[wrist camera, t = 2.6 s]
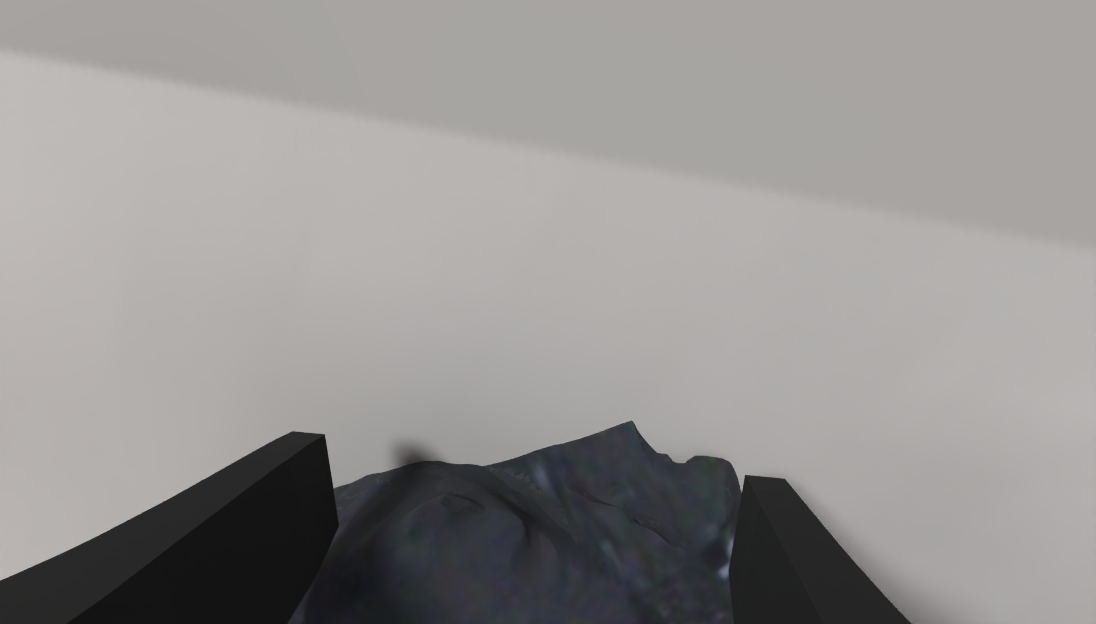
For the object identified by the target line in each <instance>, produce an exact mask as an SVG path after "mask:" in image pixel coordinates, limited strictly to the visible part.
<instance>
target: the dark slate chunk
mask: <svg viewBox="0 0 1096 624" xmlns="http://www.w3.org/2000/svg"><path fill="white" fill-rule="evenodd" d="M333 490H334V496H335V502H336V509H337V515H338V521H339V527H338V529H337V532H336V534H335V536H334V538H333V541H332V543H331V545H330V547H329V550H328V552H327V554H326V556H325V558H324V560H323V563H322V565H321V567H320V569H319V571H318V573H317V575H316V577H315V579H314V581H313V583H312V584H311V586H310V588H309V589H308V591H307V593H306V594H305V596H304V598H303V599H302V601H301V602H300V604H299V606H298V607H297V609H296V611H295V612H294V614H293V615H292V617H291V619H290V620H289V622H288V624H734V620H733V611H732V602H731V592H730V582H729V572H728V570H729V564H730V559H731V553H732V547H733V542H734V536H735V530H736V525H737V519H738V513H739V508H740V502H741V496H742V493H741V490H740V485H739V481H738V478H737V475H736V473H735V470H734V468H733V466H732V465H731V463H730V462H728V461H726V460H724V459H721V458H716V457H709V456H694V457H693V458H691V459H689V460H688V461H687V462H686V463H675V462H672V461H671V459H670V458H669V456H668V455H667V454H661V453H657V452H656V451H655V450H654V449H653V448H652V447H651V446H650V445H649V444H648V443H647V442H646V441H645V440H644V438H643V437H642V436H641V434H640V433H639V432H638V430H637V428H636V426H635V424H634V423H633V421H629V422H626V423H623V424H620V425H617V426H615V427H612V428H609V429H607V430H604V431H601V432H599V433H596V434H593V435H590V436H587V437H584V438H581V439H578V440H574V441H571V442H567V443H564V444H559V445H553V446H549V447H546V448H543V449H540V450H536V451H533V452H531V453H528V454H526V455H523V456H520V457H517V458H514V459H511V460H507V461H503V462H500V463H496V464H492V465H487V466H479V465H472V464H450V463H445V462H441V461H423V462H418V463H414V464H410V465H406V466H403V467H400V468H397V469H393V470H390V471H386V472H382V473H376V474H371V475H367V476H365V477H363V478H361V479H359V480H357V481H355V482H353V483H350V484H347V485H343V486H340V487H337V488H334V489H333Z"/></svg>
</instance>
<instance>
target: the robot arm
mask: <svg viewBox="0 0 1096 624" xmlns="http://www.w3.org/2000/svg"><path fill="white" fill-rule="evenodd" d="M338 527H339V521H338V515H337V509H336V502H335V496H334V490H333V483H332V477H331V471H330V464H329V458H328V452H327V445H326V439H325V434H314V433H304V432H293V431H292V432H290V433H288V434H286V435H284V436H282V437H280V438H278V439H276V440H274V441H272V442H270V443H268V444H266V445H265V446H263V447H261V448H259V449H257V450H256V451H254V452H252V453H250V454H248V455H247V456H245V457H243V458H241V459H239V460H238V461H236V462H234V463H232V464H231V465H229V466H227V467H225V468H224V469H222V470H220V471H218V472H216V473H215V474H213V475H211V476H209V477H208V478H206V479H204V480H202V481H200V482H199V483H197V484H195V485H193V486H191V487H190V488H188V489H186V490H184V491H183V492H181V493H179V494H177V495H175V496H174V497H172V498H170V499H168V500H166V501H164V502H162V503H160V504H159V505H157V506H155V507H153V508H151V509H149V510H147V511H145V512H143V513H141V514H139V515H137V516H136V517H134V518H132V519H130V520H128V521H126V522H124V523H122V524H120V525H118V526H116V527H114V528H113V529H111V530H109V531H107V532H105V533H103V534H101V535H99V536H97V537H95V538H93V539H91V540H89V541H87V542H85V543H83V544H81V545H79V546H77V547H74V548H72V549H70V550H68V551H66V552H64V553H62V554H60V555H57V556H55V557H53V558H51V559H49V560H46V561H44V562H42V563H40V564H37V565H35V566H33V567H31V568H28V569H26V570H24V571H22V572H19V573H17V574H15V575H13V576H10V577H8V578H6V579H3V580H1V581H0V624H288V622H289V620H290V619H291V617H292V615H293V614H294V612H295V611H296V609H297V607H298V606H299V604H300V602H301V601H302V599H303V598H304V596H305V594H306V593H307V591H308V589H309V588H310V586H311V584H312V583H313V581H314V579H315V577H316V575H317V573H318V571H319V569H320V567H321V565H322V563H323V560H324V558H325V556H326V554H327V552H328V550H329V547H330V545H331V543H332V541H333V538H334V536H335V534H336V532H337V529H338ZM728 572H729V582H730V592H731V602H732V611H733V620H734V624H911V623H910V622H909V621H908V620H907V619H906V618H905V617H904V616H903V615H902V614H901V613H900V612H899V611H898V610H897V608H896V607H895V606H894V605H893V604H892V603H891V602H890V601H889V600H888V599H887V598H886V597H885V596H884V595H883V594H882V592H881V591H880V590H879V589H878V588H877V587H876V586H875V585H874V583H873V582H872V581H871V580H870V579H869V578H868V577H867V576H866V574H865V573H864V572H863V571H862V570H861V569H860V568H859V567H858V565H857V564H856V563H855V562H854V561H853V560H852V559H851V558H850V556H849V555H848V554H847V553H846V552H845V551H844V549H843V548H842V547H841V546H840V545H839V544H838V542H837V541H836V540H835V539H834V538H833V536H832V535H831V534H830V533H829V532H828V530H827V529H826V528H825V527H824V526H823V525H822V523H821V522H820V521H819V520H818V518H817V517H816V516H815V515H814V514H813V512H812V511H811V510H810V509H809V508H808V506H807V505H806V504H805V503H804V501H803V500H802V499H801V498H800V497H799V495H798V494H797V493H796V492H795V491H794V489H793V488H792V487H791V486H790V485H789V484H788V482H787V481H786V480H785V479H781V478H771V477H760V476H750V475H745V479H744V485H743V491H742V496H741V502H740V508H739V513H738V519H737V525H736V530H735V536H734V542H733V547H732V553H731V559H730V564H729V570H728Z"/></svg>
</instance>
